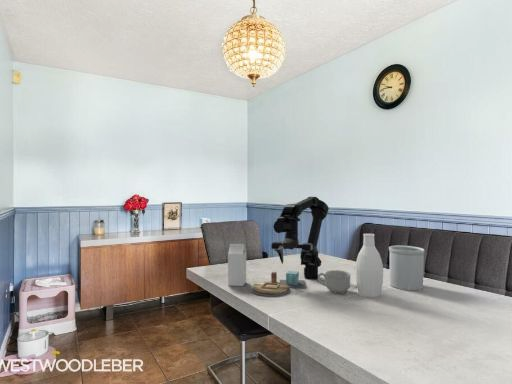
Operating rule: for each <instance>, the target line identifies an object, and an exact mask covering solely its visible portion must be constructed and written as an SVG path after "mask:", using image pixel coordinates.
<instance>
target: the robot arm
mask: <svg viewBox="0 0 512 384" xmlns="http://www.w3.org/2000/svg"><path fill="white" fill-rule="evenodd" d="M307 209H309V210H311V211H310V213H311V216H312V221H311V226H310V230H309V232H308V233H309V235H308V237H307V238H308V239H307V242H303V243H302V244H300V241H299V222H301V218H300V217H299V216H300V215H302V214H303V211H305V210H307ZM329 209H330V207H329V205H328V204H327V203H326V202H325V201H323V200H321V199H320V198H319V197H317V196H308V197H307V198H305V199H303V200H301V201H298V202H296V203H287V204H285V205H284V207H283V209H282V211H281V213H280V216H279V217H277V218H276V220H275V221H274V223H273V231H274V232H276V233H277V234H283V233H285V234H284V236H285V237H284V239H283V241H273V242H271V245H270V247H271V250H272V249H273V250H274V251H275V252H276V253H277V254H278V257H279V260H280V263H281V264H282V265H283V264H284V250H291V251H292V250H294V249H301V251H300V256H299V257H300V265H301V266H304V267H303V276H304V279H311V280H312V279H313V280H318V275H319V267H321V266H322V260H321V258H320V257H319V250H318V248H317V246H318V243H319V238H320V232H321V227H322V224H323V223H322V222H323V220H324V219H326V217H327V215H328V213H329Z"/></svg>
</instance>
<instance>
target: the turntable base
mask: <svg viewBox="0 0 512 384" xmlns="http://www.w3.org/2000/svg"><path fill="white" fill-rule="evenodd" d="M290 290H291V288H288V291H286V292H283V293H279V294H263V293H258V292H255V291H254V290H253V289H252V287H251V290H250V292H251V293H252V294H254V295H256V296H261V297H280V296H281V297H282V296H285V295H288V294H289V293H290Z"/></svg>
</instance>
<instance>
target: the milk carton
mask: <svg viewBox="0 0 512 384" xmlns="http://www.w3.org/2000/svg"><path fill="white" fill-rule="evenodd" d="M227 279H228V280H227V282H228V283H227V285H228V286H231V287H243V286H244V285H246V283H247V250H246V247H245V244H243V243H229V248H228V252H227Z"/></svg>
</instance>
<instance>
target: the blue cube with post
mask: <svg viewBox="0 0 512 384" xmlns="http://www.w3.org/2000/svg"><path fill="white" fill-rule="evenodd" d="M285 280H286V285H297V284H298V283H299V280H300V279H299V271H296V270H295V271H293V270H287V272H286V273H285Z"/></svg>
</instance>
